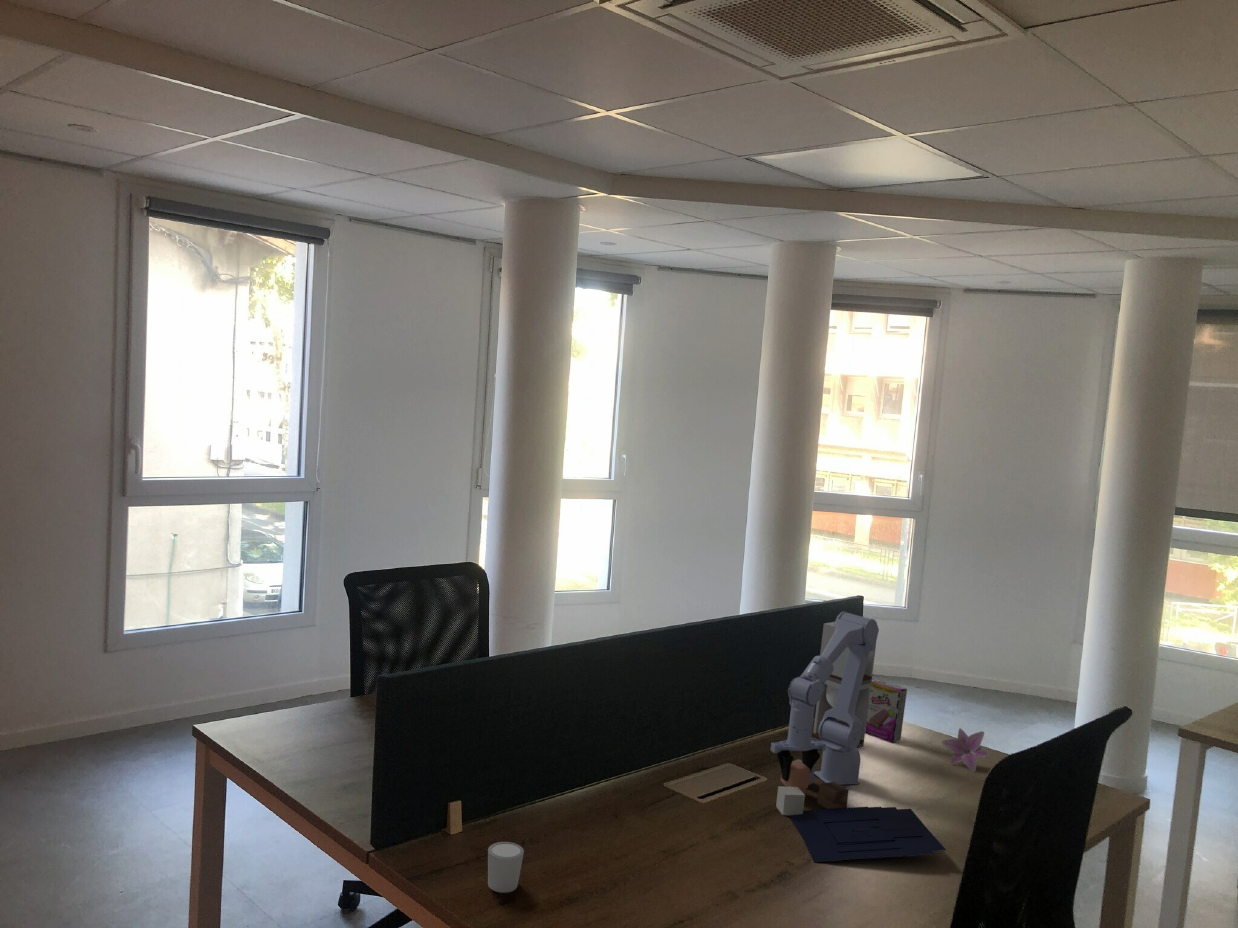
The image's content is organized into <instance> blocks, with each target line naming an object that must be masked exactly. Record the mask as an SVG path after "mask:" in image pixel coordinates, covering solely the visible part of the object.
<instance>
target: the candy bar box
mask: <svg viewBox="0 0 1238 928" xmlns="http://www.w3.org/2000/svg"><path fill="white" fill-rule="evenodd" d="M907 693H908V688H906V687H903V686H900V685H897V684H893V683H890V682H887V681H884V680H881V679H878V678H872V681H871V689H870V697H869V706H868V714H867V722H866V730H865V735H866V734H867V735H869V736H872V737H875V738H877V739H880V740H883V741H886V742H889V743H891V744H895V743H898V742H900V741H901V738H902V732H903V723H904V716H905V708H906V701H907Z"/></svg>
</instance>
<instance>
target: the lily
mask: <svg viewBox="0 0 1238 928" xmlns="http://www.w3.org/2000/svg"><path fill="white" fill-rule="evenodd" d="M984 736H985V731H982V730H981V731H978V732H975V733H973V734H970V735H969V736H968V734H967V733H966V731H964V730H963V729H962V728H961V727H960V728H959V729H958V732H957V738H950V739H948V738H947V739H944V740H942V741H941V744H942V745H943V746H945V747H946V748H947V749H949V750H950V751H952V752H953V755H952V756H951V760H950V762H949V763H950V765H955V764H958V763H960V762H963V763H964V764H965V766H966V767H967V768H968V770H970V771H971V770H973V771H975V772H976V769H977V763H978V762H977V760H978V758H985V757H990V756H991V755H990V753H989V752H987V751H986V750H985V749H983V748H982V747H981V744H982V741H983V739H984Z"/></svg>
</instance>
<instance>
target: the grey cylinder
mask: <svg viewBox="0 0 1238 928" xmlns="http://www.w3.org/2000/svg"><path fill="white" fill-rule="evenodd" d="M524 852H525V850H524V848H523V847H522V846H521V845H520V844H517V843H515V842H511V841H510V842H509V841H499V842H495V843H492V844H491V845H489V847H488V848H487V886H488V888H489V889H491V890H492V891H494V892H497V893H503V894H504V893H505V894H506V893H511V892H514V891H516V890H517V888H518V885H519V884H518V883H519V880H520V876H521V869H522V863H523V859H524Z"/></svg>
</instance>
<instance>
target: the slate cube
mask: <svg viewBox="0 0 1238 928" xmlns="http://www.w3.org/2000/svg"><path fill="white" fill-rule="evenodd" d="M794 761H801V762H802V759H799V758H798V759H795V760H794ZM814 772H815V764H814V766H813V768H812V770H811V772H810V775H809V784H808V786H810V785H812V784H813V783H814V775H815V774H814Z"/></svg>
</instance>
